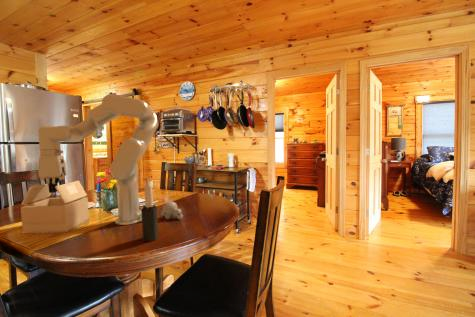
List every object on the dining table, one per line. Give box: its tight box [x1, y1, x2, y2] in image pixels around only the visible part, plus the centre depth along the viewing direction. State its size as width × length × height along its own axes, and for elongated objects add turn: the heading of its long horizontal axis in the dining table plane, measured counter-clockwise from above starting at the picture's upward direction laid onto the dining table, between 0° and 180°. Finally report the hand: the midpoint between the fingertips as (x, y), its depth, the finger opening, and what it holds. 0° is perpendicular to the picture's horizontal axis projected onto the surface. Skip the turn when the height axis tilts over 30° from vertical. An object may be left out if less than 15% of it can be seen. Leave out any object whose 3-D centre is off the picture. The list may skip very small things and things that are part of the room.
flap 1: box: [20, 183, 52, 206], centre depth 108 cm, size 8×16×1 cm
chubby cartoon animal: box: [160, 200, 184, 220], centre depth 118 cm, size 7×12×8 cm, turn 64°
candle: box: [140, 177, 159, 242], centre depth 93 cm, size 5×5×25 cm
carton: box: [20, 196, 90, 234], centre depth 109 cm, size 19×17×12 cm
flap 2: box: [55, 180, 88, 204], centre depth 109 cm, size 8×16×1 cm
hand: (53, 192), depth 108 cm, fingers closed
